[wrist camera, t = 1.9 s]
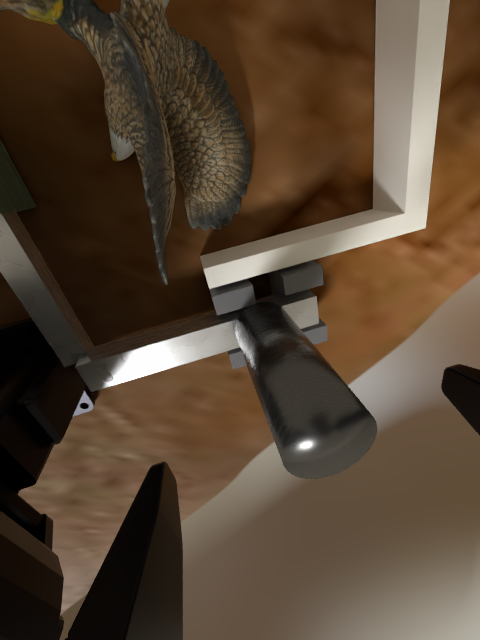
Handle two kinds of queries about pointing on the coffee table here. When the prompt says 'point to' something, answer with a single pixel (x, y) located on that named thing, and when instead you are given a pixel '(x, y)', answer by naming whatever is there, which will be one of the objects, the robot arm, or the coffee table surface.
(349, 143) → the coffee table surface
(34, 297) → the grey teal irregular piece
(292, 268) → the cradle
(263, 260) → the frame
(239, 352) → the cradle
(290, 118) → the coffee table surface
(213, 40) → the coffee table surface
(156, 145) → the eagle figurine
